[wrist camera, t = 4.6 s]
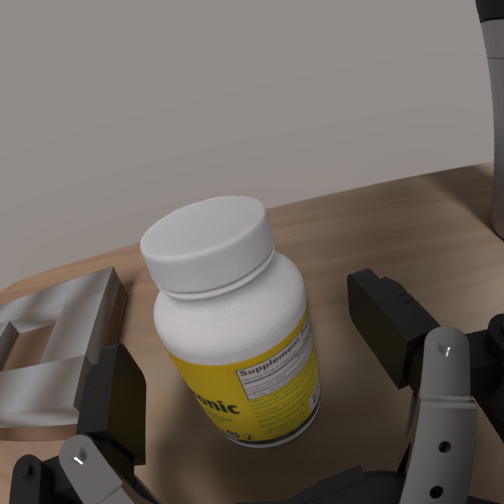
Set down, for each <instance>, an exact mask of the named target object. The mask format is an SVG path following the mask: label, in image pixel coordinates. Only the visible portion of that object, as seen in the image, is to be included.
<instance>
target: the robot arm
mask: <svg viewBox="0 0 504 504" xmlns="http://www.w3.org/2000/svg"><path fill="white" fill-rule="evenodd" d="M475 2H476V7H477V11H478V14H479V19H480V23H481V28H482V32H483V38H484V43H485V48H486V54H487V58H488V66H489V73H490V81H491V90H492V101H493V118H494V179H493V197H492V209H491V219H490V221H491V225H492V227H493V228H494V230H495V231H496V232H497V233H498V234H499V235H500V236H501V237H502V238H503V239H504V0H475ZM347 286H348V303H349V313H350V316H351V319H352V321H353V323H354V325H355V327H356V328H357V330H358V331H359V332H360V334H361V335H362V337H363V338H364V340H365V341H366V342H367V344H368V345H369V347H370V348H371V350H372V351H373V353H374V354H375V356H376V357H377V358H378V360H379V361H380V363H381V364H382V366H383V367H384V369H385V370H386V372H387V373H388V375H389V376H390V378H391V379H392V381H393V382H394V384H395V385H396V387H397V388H398V390H400V389H402V388H404V387H406V386H408V385H409V386H410V387H411V389H412V390H413V393H412V398H411V404H410V410H409V416H408V421H407V426H406V431H405V436H404V441H403V445H402V448H401V452H400V455H399V458H398V462H397V466H396V469H395V472H393V471H368V472H363V471H362V469H361V467H360V465H359V466H357V467H355V468H352V469H350V470H347V471H345V472H342V473H340V474H337V475H334V476H332V477H329V478H326V479H323V480H321V481H320V482H318V483H316V484H315V485H313V486H312V487H310V488H308V489H306V490H305V491H303V492H301V493H299V494H298V495H296V496H294V497H292V498H291V499H289V500H286V501H282V502H242V503H237V504H499V503H495V502H491V501H487V500H483V499H480V498H476V497H472V496H469V495H468V491H469V485H470V479H471V472H472V464H473V455H474V444H475V431H476V403H475V401H471V399H470V396H473V397H474V398H475V400H476V401H477V403H478V404H479V406H480V407H481V409H482V410H483V412H484V413H485V415H486V416H487V418H488V419H489V421H490V422H491V424H492V425H493V427H494V429H495V430H496V432H497V433H498V435H499V436H500V438H501V440H502V441H503V443H504V314H498V315H496V316H494V317H493V318H492V319H491V320H490V322H489V325H488V328H487V329H486V330H482V331H478V332H473V333H469V334H464V333H463V332H462V331H460V330H459V329H456V328H454V327H448V326H443V327H442V326H440V325H439V324H438V322H437V321H436V320H435V319H434V318H433V317H432V316H431V315H430V314H429V313H428V312H427V311H426V310H425V309H424V308H423V307H422V306H421V305H420V304H419V303H418V302H417V301H416V300H414V298H413V297H412V296H411V295H410V294H409V293H407V291H406V290H405V289H404V288H403V287H402V286H401V285H400V284H399V283H398V282H396V281H394V280H391V279H389V278H387V277H384V278H381V279H379V278H378V276H377V275H376V274H375V273H374V272H373V271H372V270H371V269H369V268H366V269H363V270H361V271H358V272H355V273H352V274H349V275H348V277H347ZM84 389H85V390H84V391H83V396H82V398H83V400H82V401H81V406H80V412H79V417H78V423H77V429H76V435H75V436H73V437H71V438H69V439H68V440H67V441H66V442H65V443H64V444H63V445H62V447H61V449H60V453H59V455H58V456H56V457H53V458H51V459H48V460H46V461H43V462H42V461H41V460H40V459H38V458H37V457H36V456H34V455H30V454H28V455H24V456H22V457H21V458H20V459H19V460H18V461H17V462H16V464H15V466H14V469H13V475H12V482H11V490H10V500H9V504H162V503H161V502H160V501H159V500H158V499H157V498H156V497H155V495H154V494H153V493H152V492H151V491H150V490H149V489H148V488H147V487H146V486H145V485H144V484H143V482H142V481H141V480H140V479H139V478H138V477H137V476H136V475H135V474H134V466H137V465H146V453H145V418H146V382H145V378H144V375H143V373H142V371H141V370H140V368H139V367H138V365H137V364H136V362H135V361H134V359H133V358H132V356H131V355H130V353H129V352H128V350H127V349H126V347H125V346H124V345H123V344H121V343H120V344H116V345H112V346H108V347H104V348H102V349H101V351H100V355H99V360H98V364H94V365H93V366H92V368H91V370H90V371H89V373H88V375H87V377H86V381H85V386H84Z"/></svg>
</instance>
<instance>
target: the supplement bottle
mask: <svg viewBox="0 0 504 504" xmlns="http://www.w3.org/2000/svg"><path fill="white" fill-rule="evenodd" d="M140 249H141V253H142V255H143V258H144V260H145V262H146V264H147V267H148V269H149V272H150V274H151V277H152V279H153V281H154V282H155V283H156V285H157V287H158V289H159V290H160V292H159V294H158V296H157V299H156V302H155V306H154V323H155V327H156V330H157V333H158V335H159V337H160V339H161V341H162V343H163V345H164V347H165V348H166V350H167V352H168V353H169V355H170V357H171V358H172V360H173V362H174V364H175V365H176V367H177V368H178V370H179V372H180V374H181V375H182V377H183V378H184V380H185V381H186V383H187V385H188V386H189V387H190V389H191V391H192V392H193V394H194V395H195V397H196V398H197V400H198V401H199V403H200V404H201V406H202V407H203V409H204V410H205V412H206V413H207V415H208V416H209V418H210V419H211V421H212V422H213V423H214V425H215V426H216V427H217V428H218V430H219V431H220V432H221V433H222V434H223V435H224V436H225V437H227V438H228V439H230V440H231V441H233V442H235V443H237V444H240V445H243V446H247V447H252V448H267V447H273V446H277V445H280V444H283V443H286V442H288V441H290V440H292V439H294V438H295V437H297V436H298V435H299V434H301V433H302V432H303V431H304V430H305V429H306V428H307V427H308V426H309V425H310V424H311V423H312V421H313V420H314V418H315V416H316V414H317V412H318V409H319V406H320V401H321V388H320V379H319V372H318V366H317V358H316V352H315V345H314V338H313V332H312V325H311V319H310V313H309V307H308V300H307V293H306V289H305V285H304V281H303V278H302V275H301V273H300V271H299V270H298V268H297V267H296V266H295V264H294V263H293V262H292V261H291V260H290V259H288V258H287V257H286V256H284V255H283V254H281V253H279V252H277V251H275V244H274V241H273V234H272V230H271V226H270V222H269V218H268V214H267V210H266V208H265V206H264V204H263V203H262V202H260V201H259V200H257V199H255V198H252V197H248V196H222V197H215V198H211V199H207V200H203V201H199V202H196V203H193V204H190V205H188V206H185V207H182V208H180V209H178V210H176V211H174V212H172V213H170V214H169V215H167V216H165V217H164V218H162V219H160V220H159V221H158V222H157V223H155V224H154V225H152V226H151V227H150V228H149V229H148V231H147V232H146V233H145V234H144V236H143V238H142V240H141V243H140Z"/></svg>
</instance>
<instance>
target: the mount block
mask: <svg viewBox="0 0 504 504" xmlns="http://www.w3.org/2000/svg"><path fill="white" fill-rule="evenodd" d="M126 300H127V293H126V291H125V289H124V287H123V285H122V283H121V281H120V279H119V277H118V275H117V273H116V271H115V269H114V267H113V266H112V267H109V268H106V269H103V270H100V271H97V272H94V273H91V274H88V275H85V276H82V277H79V278H76V279H73V280H70V281H67V282H64V283H62V284H59V285H56V286H53V287H50V288H47V289H44V290H41V291H38V292H35V293H33V294H30V295H27V296H24V297H21V298H18V299H16V300H13V301H10V302H7V303H4V304H2V305H0V440H6V441H49V440H68V439H69V438H71V437H73V436H75V435H76V429H77V423H78V417H79V412H80V406H81V401H82V400H83V398H82V396H83V391H84V390H85V389H84V386H85V381H86V377H87V375H88V373H89V371H90V370H91V368H92V366H93V365H94V364H98V360H99V355H100V351H101V349H102V348H104V347H108V346H112V345H116V344H118V339H119V333H120V328H121V323H122V318H123V314H124V309H125V304H126Z"/></svg>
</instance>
